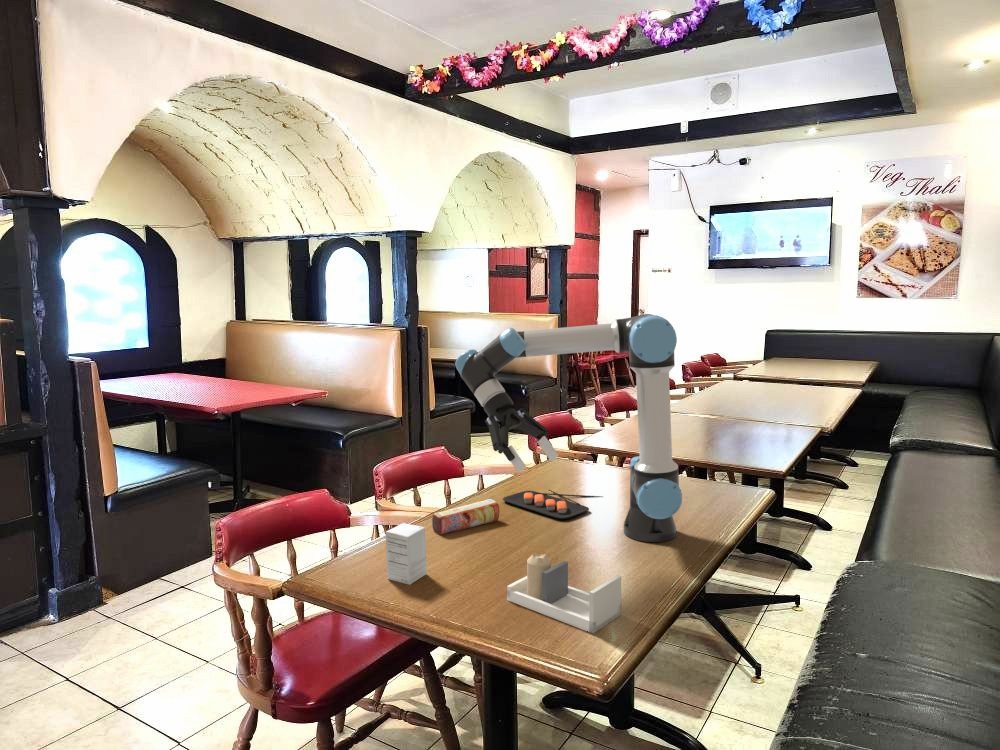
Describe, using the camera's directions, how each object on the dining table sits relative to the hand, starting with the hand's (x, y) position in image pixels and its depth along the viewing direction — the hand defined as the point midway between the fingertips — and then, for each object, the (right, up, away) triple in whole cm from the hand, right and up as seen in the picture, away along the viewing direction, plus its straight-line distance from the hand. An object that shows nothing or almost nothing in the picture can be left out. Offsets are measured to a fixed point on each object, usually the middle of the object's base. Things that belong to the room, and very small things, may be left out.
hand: (539, 464), depth 174 cm
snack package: (-20, -24, +35) cm, 47 cm away
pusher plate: (+3, -29, -17) cm, 34 cm away
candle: (-1, -29, -15) cm, 32 cm away
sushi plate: (+11, -21, +57) cm, 62 cm away
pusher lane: (+4, -30, -18) cm, 36 cm away
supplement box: (-34, -29, -1) cm, 44 cm away
